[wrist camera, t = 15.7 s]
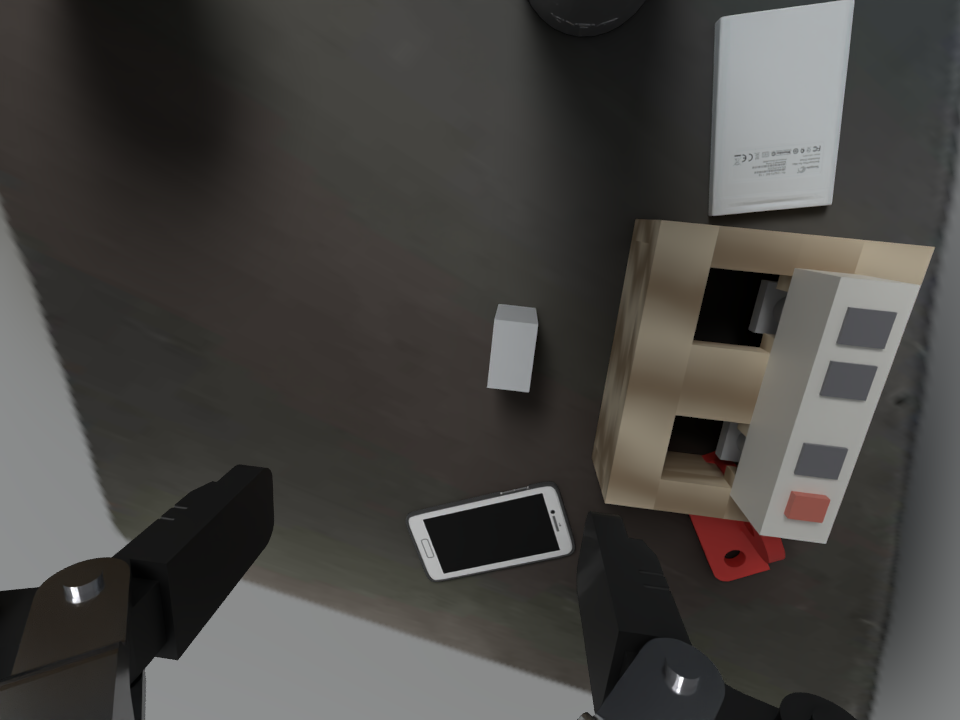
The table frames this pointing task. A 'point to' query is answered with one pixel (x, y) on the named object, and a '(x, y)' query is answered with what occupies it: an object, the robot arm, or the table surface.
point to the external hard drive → (778, 107)
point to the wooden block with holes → (701, 353)
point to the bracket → (734, 541)
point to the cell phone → (491, 532)
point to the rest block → (513, 348)
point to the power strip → (814, 396)
